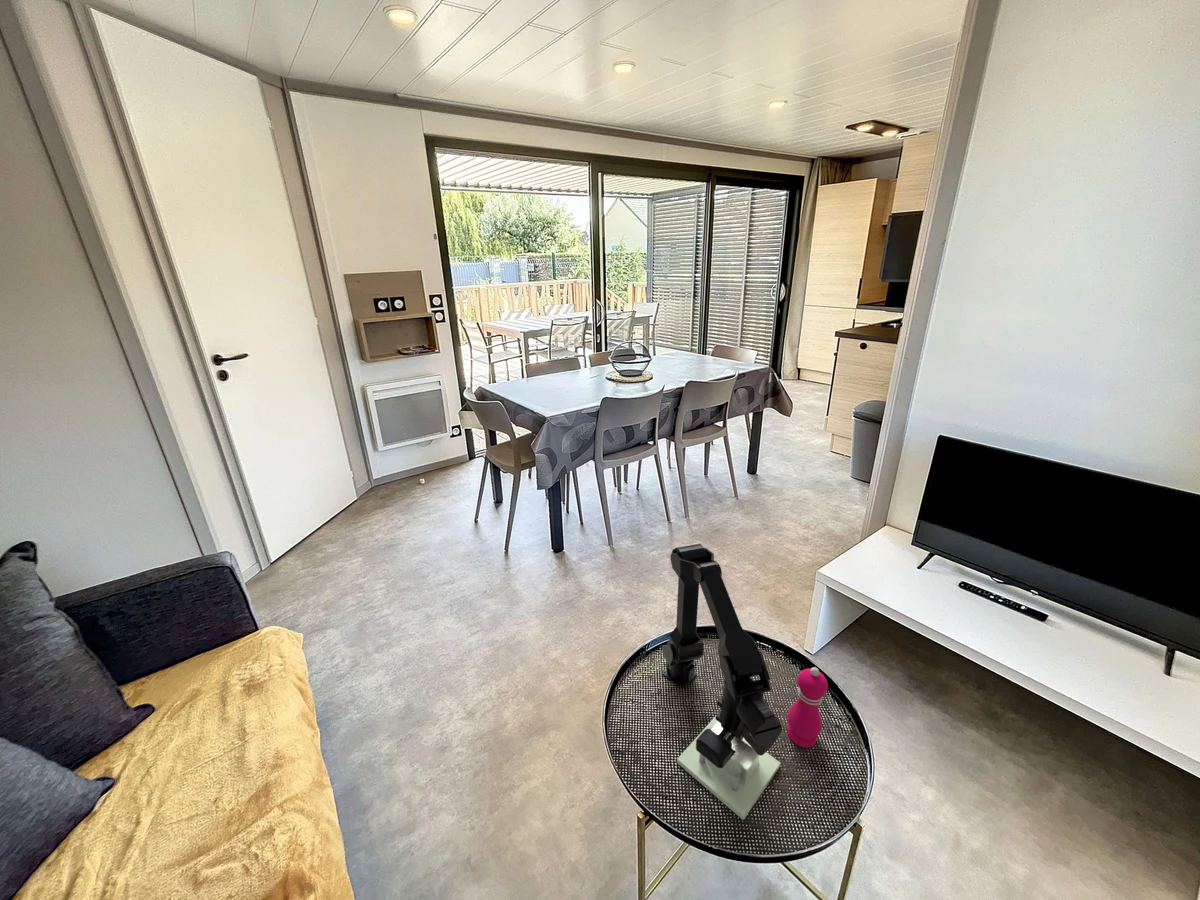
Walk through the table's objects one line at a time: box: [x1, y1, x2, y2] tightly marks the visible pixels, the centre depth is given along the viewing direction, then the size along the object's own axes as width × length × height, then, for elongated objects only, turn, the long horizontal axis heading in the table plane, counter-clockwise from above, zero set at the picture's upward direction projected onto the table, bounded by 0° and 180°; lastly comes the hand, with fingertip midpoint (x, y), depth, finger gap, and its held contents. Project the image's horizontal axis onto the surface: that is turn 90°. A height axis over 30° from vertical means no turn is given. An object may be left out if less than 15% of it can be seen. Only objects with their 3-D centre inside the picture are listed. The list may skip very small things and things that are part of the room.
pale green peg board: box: [676, 715, 781, 821], centre depth 102 cm, size 16×15×4 cm
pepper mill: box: [786, 666, 829, 748], centre depth 105 cm, size 7×7×20 cm
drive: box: [712, 723, 759, 787], centre depth 102 cm, size 10×5×5 cm, turn 44°
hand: (729, 752), depth 102 cm, fingers open, 6 cm apart
